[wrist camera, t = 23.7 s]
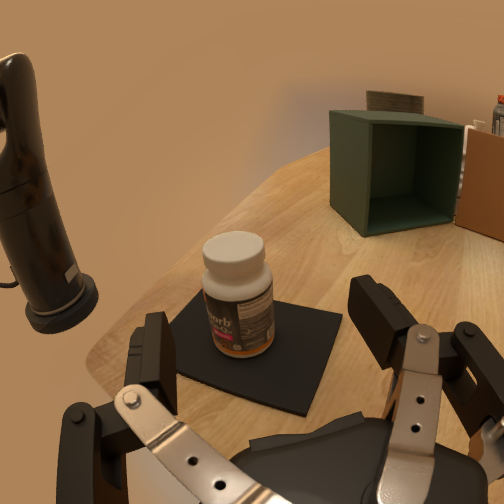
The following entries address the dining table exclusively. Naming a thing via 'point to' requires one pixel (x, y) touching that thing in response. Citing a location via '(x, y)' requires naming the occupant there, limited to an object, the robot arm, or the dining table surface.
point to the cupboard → (393, 169)
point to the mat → (260, 355)
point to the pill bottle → (238, 293)
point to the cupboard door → (483, 185)
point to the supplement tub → (498, 117)
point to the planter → (394, 102)
